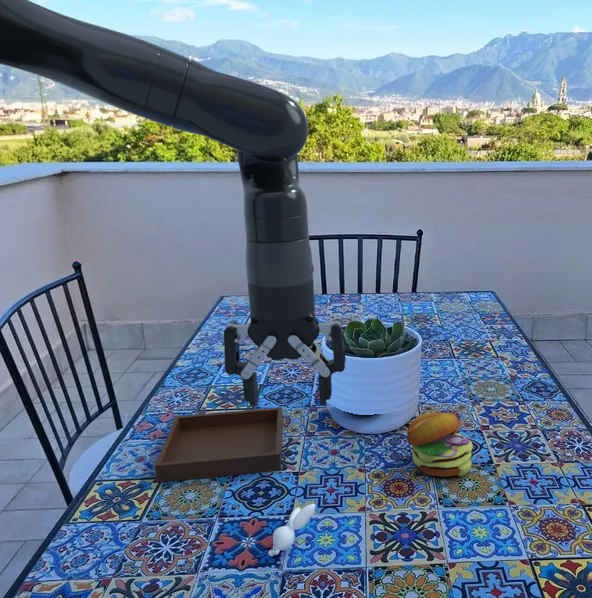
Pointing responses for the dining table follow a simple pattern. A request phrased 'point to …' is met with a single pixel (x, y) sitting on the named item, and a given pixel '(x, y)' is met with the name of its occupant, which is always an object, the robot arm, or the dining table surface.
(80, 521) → the dining table surface
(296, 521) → the rabbit figurine
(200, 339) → the dining table surface
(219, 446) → the tray
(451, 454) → the cheeseburger
